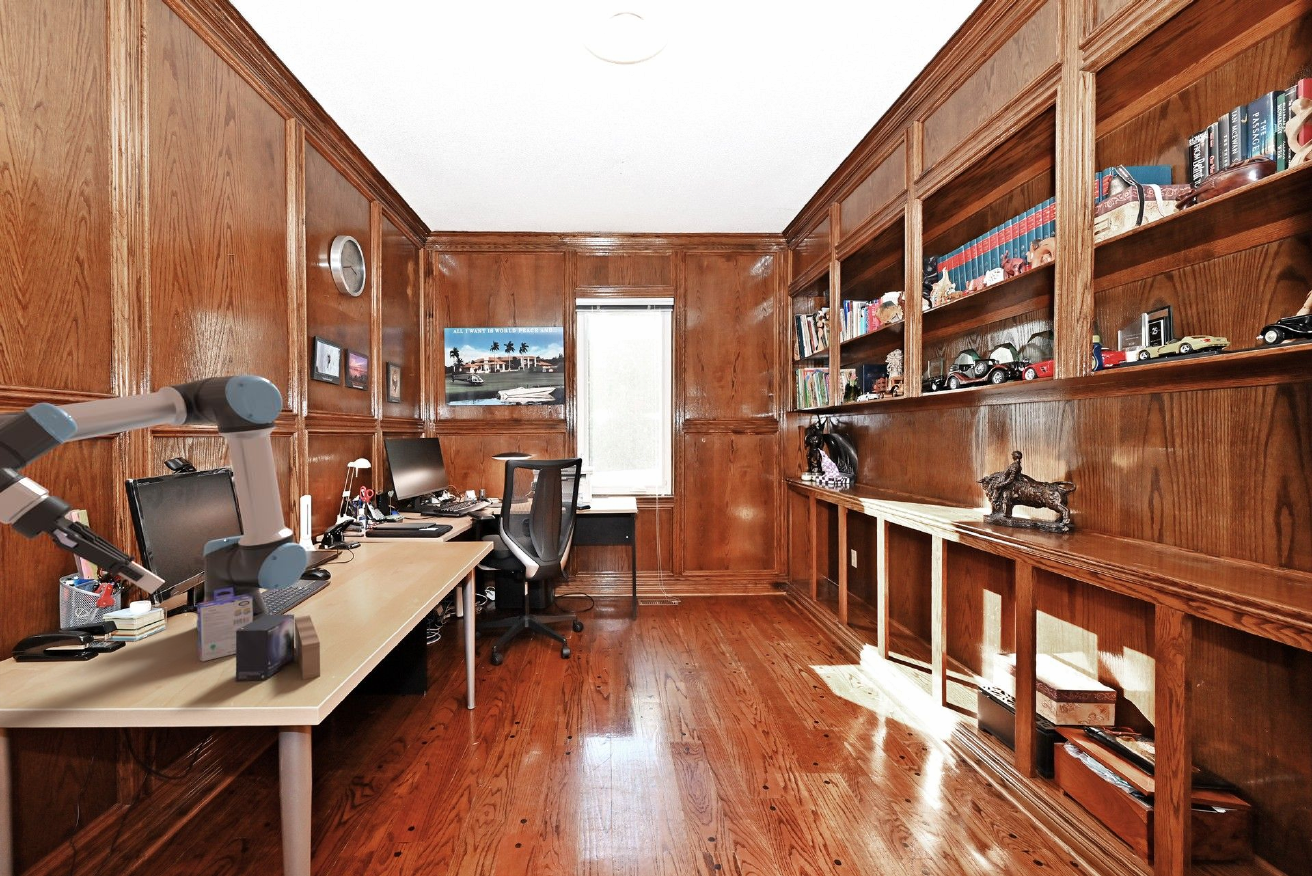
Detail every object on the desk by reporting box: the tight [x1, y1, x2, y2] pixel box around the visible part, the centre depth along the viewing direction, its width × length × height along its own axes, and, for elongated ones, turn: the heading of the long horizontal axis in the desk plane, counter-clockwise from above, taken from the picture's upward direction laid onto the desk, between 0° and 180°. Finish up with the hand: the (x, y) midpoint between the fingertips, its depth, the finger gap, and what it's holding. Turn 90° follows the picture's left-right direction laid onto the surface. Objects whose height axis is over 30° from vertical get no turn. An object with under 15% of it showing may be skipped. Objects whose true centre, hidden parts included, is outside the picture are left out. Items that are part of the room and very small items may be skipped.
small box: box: [235, 613, 295, 682], centre depth 121 cm, size 11×6×10 cm, turn 4°
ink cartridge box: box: [196, 587, 253, 662], centre depth 131 cm, size 10×6×14 cm, turn 137°
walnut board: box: [294, 615, 321, 681], centre depth 126 cm, size 22×3×7 cm, turn 36°
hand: (158, 587), depth 111 cm, fingers closed
